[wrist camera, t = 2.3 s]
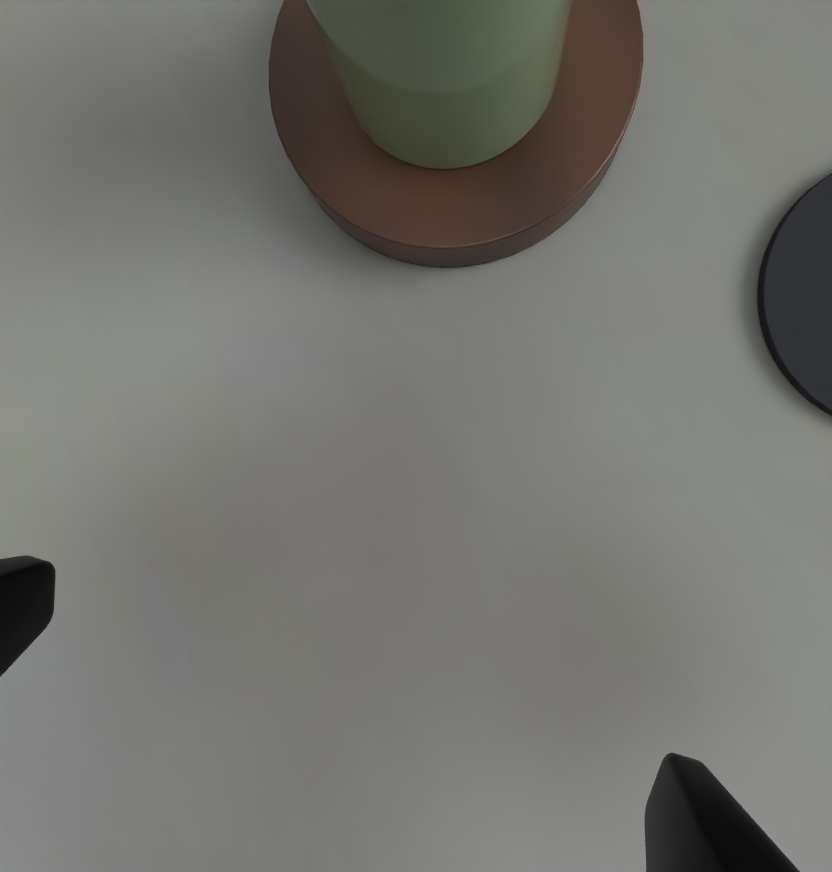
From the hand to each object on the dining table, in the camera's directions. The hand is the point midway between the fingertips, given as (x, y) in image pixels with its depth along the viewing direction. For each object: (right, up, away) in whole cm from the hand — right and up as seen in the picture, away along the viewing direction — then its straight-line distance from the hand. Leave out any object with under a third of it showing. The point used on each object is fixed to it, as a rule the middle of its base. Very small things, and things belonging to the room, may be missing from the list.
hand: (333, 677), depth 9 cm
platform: (+2, +14, +12) cm, 19 cm away
